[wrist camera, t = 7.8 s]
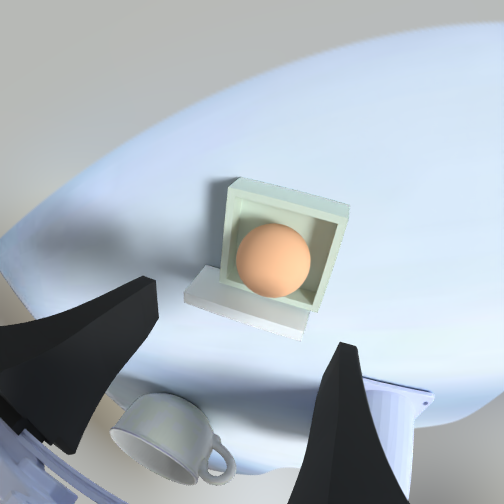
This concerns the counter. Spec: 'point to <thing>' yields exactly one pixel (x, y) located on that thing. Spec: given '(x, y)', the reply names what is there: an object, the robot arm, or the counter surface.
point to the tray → (294, 216)
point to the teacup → (171, 439)
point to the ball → (273, 260)
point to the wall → (245, 305)
